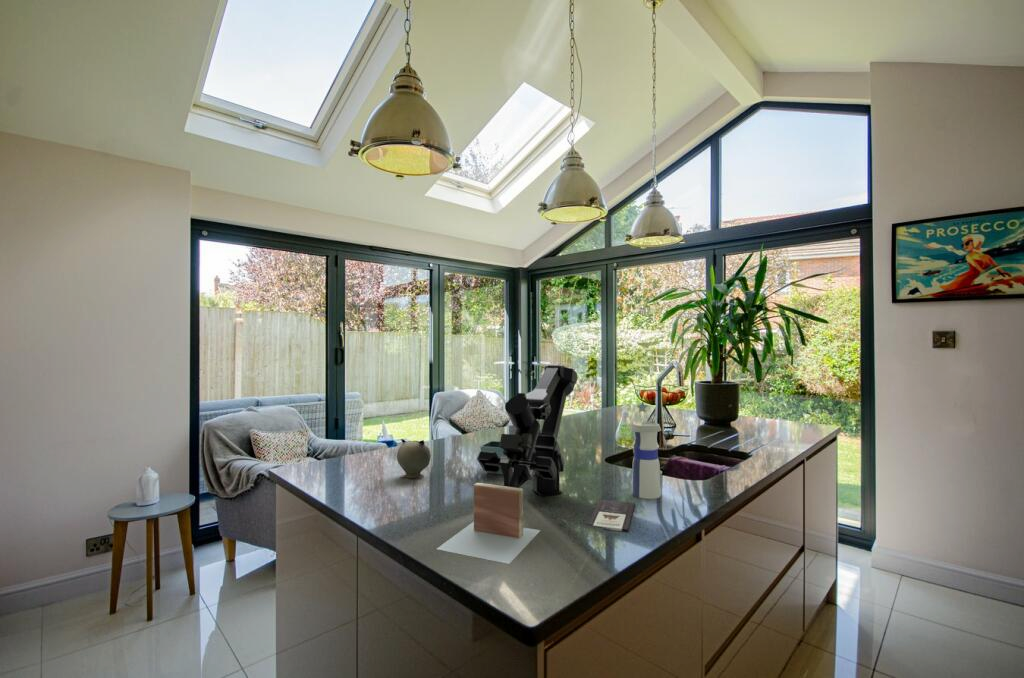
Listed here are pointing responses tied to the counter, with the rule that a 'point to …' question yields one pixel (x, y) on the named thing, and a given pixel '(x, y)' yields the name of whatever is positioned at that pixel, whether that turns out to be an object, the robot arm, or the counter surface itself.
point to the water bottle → (646, 459)
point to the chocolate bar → (612, 515)
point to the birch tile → (498, 510)
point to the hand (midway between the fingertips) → (506, 497)
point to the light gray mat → (488, 544)
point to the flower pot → (494, 450)
